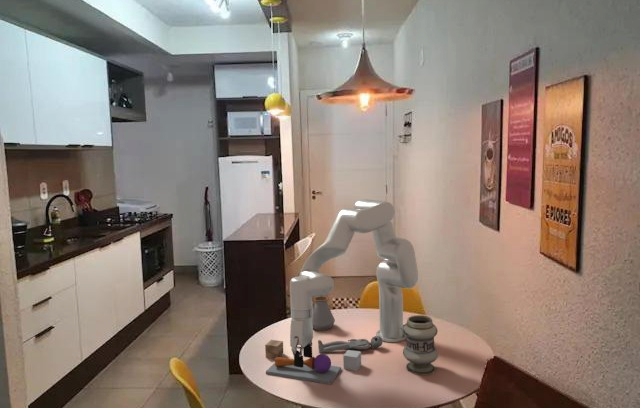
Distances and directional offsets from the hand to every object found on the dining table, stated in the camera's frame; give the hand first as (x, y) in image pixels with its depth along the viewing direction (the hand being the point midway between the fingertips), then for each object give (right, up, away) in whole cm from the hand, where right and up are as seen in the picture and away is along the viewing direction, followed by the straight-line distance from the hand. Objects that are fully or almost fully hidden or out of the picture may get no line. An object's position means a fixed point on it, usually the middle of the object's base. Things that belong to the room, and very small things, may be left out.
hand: (303, 361), depth 163 cm
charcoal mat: (0, -4, 0) cm, 4 cm away
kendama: (0, -3, 0) cm, 3 cm away
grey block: (+17, -3, +3) cm, 18 cm away
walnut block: (-11, -3, +15) cm, 19 cm away
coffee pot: (+2, +1, +43) cm, 43 cm away
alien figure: (+18, -2, +18) cm, 26 cm away
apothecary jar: (+41, -3, 0) cm, 41 cm away
